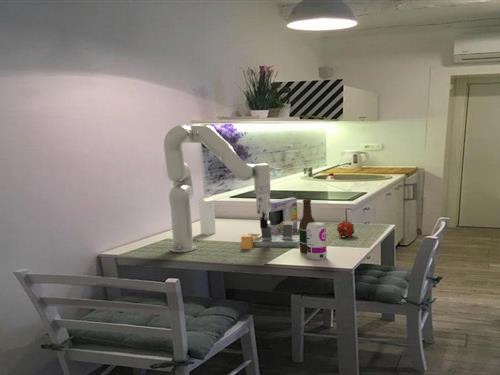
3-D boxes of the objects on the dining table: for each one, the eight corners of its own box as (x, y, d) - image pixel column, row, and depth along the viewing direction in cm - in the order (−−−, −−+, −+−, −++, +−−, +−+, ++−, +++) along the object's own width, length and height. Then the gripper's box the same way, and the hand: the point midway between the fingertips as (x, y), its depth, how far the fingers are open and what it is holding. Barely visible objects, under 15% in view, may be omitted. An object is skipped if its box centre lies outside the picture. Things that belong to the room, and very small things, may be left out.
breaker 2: (291, 238, 225) (293, 221, 230) (281, 238, 227) (283, 221, 231) (292, 240, 227) (293, 223, 232) (282, 240, 228) (284, 223, 233)
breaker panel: (298, 247, 221) (297, 239, 221) (241, 246, 228) (240, 238, 228) (302, 240, 235) (302, 232, 234) (248, 239, 242) (248, 232, 241)
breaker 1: (271, 240, 228) (269, 223, 225) (262, 240, 230) (259, 223, 226) (272, 237, 230) (270, 221, 226) (262, 237, 231) (260, 221, 228)
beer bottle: (315, 249, 216) (314, 197, 213) (318, 253, 208) (316, 200, 205) (298, 250, 216) (297, 198, 213) (301, 254, 208) (299, 201, 205)
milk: (215, 233, 262) (214, 194, 259) (207, 235, 258) (205, 195, 255) (209, 231, 266) (207, 193, 264) (200, 233, 262) (198, 194, 260)
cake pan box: (273, 234, 252) (272, 202, 250) (267, 233, 256) (265, 201, 254) (298, 228, 264) (297, 197, 262) (292, 227, 268) (291, 197, 266)
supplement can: (330, 257, 201) (329, 222, 200) (319, 261, 195) (318, 226, 194) (314, 254, 207) (313, 221, 205) (303, 258, 201) (302, 224, 199)
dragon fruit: (348, 236, 245) (346, 245, 234) (334, 227, 246) (332, 235, 235) (357, 224, 242) (356, 232, 231) (343, 215, 243) (341, 222, 232)
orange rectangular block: (250, 249, 222) (250, 236, 221) (241, 249, 223) (241, 236, 222) (253, 247, 226) (252, 234, 225) (244, 246, 227) (243, 234, 226)
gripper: (266, 191, 214) (267, 231, 216) (273, 187, 228) (275, 224, 230) (250, 191, 216) (252, 230, 218) (258, 188, 230) (260, 224, 232)
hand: (264, 227), depth 224 cm, fingers closed
